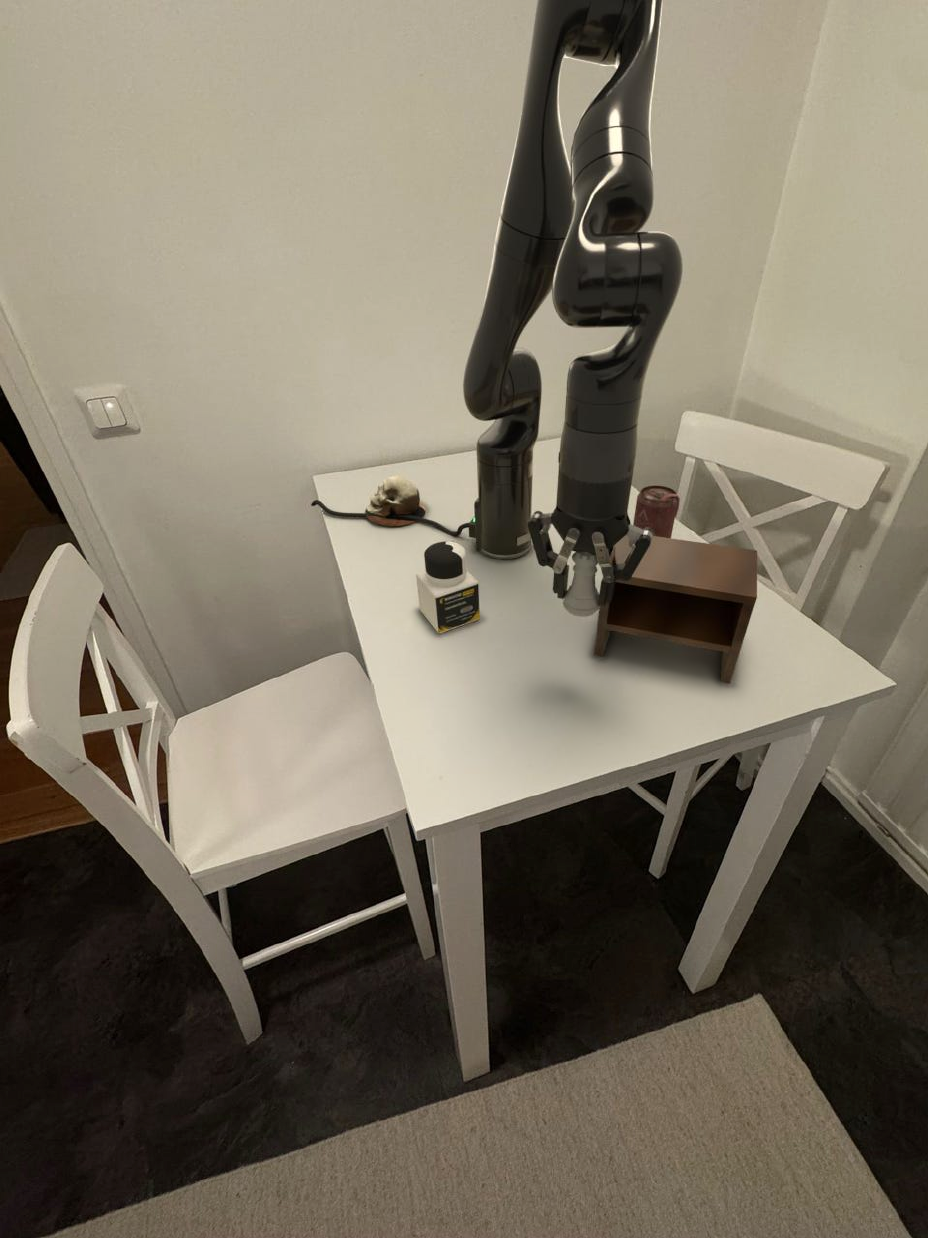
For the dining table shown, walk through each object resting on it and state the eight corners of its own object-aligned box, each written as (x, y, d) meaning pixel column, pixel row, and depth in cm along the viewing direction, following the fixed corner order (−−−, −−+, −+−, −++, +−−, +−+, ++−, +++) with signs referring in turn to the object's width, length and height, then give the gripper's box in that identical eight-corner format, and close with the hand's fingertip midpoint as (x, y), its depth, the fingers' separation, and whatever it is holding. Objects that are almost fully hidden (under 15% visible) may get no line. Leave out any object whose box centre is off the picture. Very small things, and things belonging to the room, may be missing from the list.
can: (667, 580, 99) (682, 502, 90) (627, 577, 100) (638, 500, 91) (665, 560, 103) (679, 484, 95) (627, 557, 105) (637, 482, 96)
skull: (356, 524, 116) (358, 472, 117) (372, 536, 126) (374, 487, 127) (417, 524, 114) (419, 471, 115) (428, 535, 124) (430, 487, 125)
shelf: (593, 655, 85) (603, 572, 76) (608, 610, 93) (618, 530, 84) (730, 683, 80) (757, 597, 71) (732, 632, 88) (757, 550, 79)
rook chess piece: (591, 622, 70) (597, 565, 65) (556, 611, 72) (560, 554, 67) (605, 602, 73) (613, 546, 68) (571, 592, 75) (576, 536, 70)
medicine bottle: (438, 634, 90) (432, 567, 83) (419, 610, 95) (411, 544, 88) (480, 619, 93) (478, 553, 85) (459, 596, 98) (455, 531, 90)
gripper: (672, 457, 62) (647, 592, 73) (538, 442, 66) (533, 571, 77) (663, 489, 57) (637, 630, 67) (518, 470, 61) (515, 605, 72)
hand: (581, 598), depth 72 cm, fingers closed on rook chess piece, 4 cm apart
